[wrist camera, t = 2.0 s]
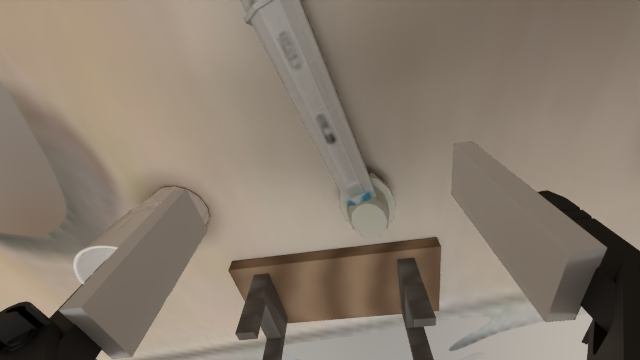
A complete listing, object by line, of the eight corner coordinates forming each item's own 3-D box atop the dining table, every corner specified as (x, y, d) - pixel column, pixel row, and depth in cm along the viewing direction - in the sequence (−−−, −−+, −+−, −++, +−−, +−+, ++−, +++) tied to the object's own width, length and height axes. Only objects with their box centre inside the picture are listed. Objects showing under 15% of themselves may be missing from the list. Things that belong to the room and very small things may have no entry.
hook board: (436, 237, 32) (470, 306, 24) (435, 300, 37) (462, 373, 30) (232, 261, 35) (203, 328, 27) (260, 316, 41) (243, 384, 33)
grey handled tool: (274, -89, 15) (411, 247, 23) (296, -44, 21) (398, 209, 29) (202, -38, 17) (355, 263, 24) (242, -9, 23) (354, 224, 30)
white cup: (131, 193, 30) (51, 259, 21) (189, 171, 28) (126, 235, 20) (174, 241, 34) (119, 316, 25) (227, 225, 32) (188, 299, 23)
